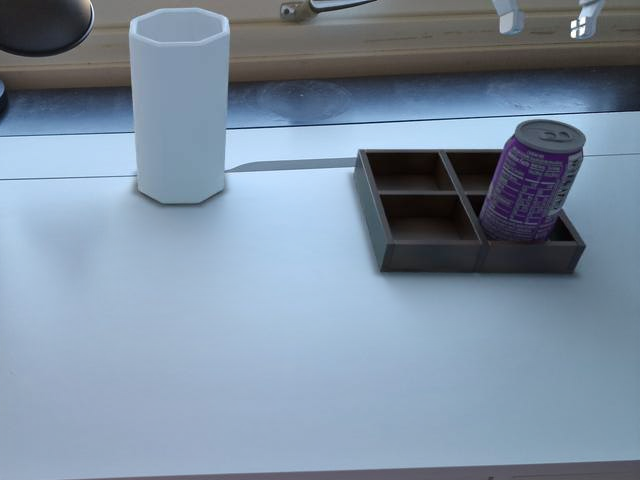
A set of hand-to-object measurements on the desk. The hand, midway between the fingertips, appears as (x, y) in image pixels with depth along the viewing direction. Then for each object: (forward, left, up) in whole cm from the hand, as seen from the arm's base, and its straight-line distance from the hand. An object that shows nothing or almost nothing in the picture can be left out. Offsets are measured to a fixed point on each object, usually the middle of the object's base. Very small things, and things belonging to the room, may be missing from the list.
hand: (547, 35), depth 72 cm
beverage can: (+3, +14, -16) cm, 21 cm away
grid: (+7, +9, -17) cm, 20 cm away
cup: (+38, +1, -17) cm, 42 cm away
